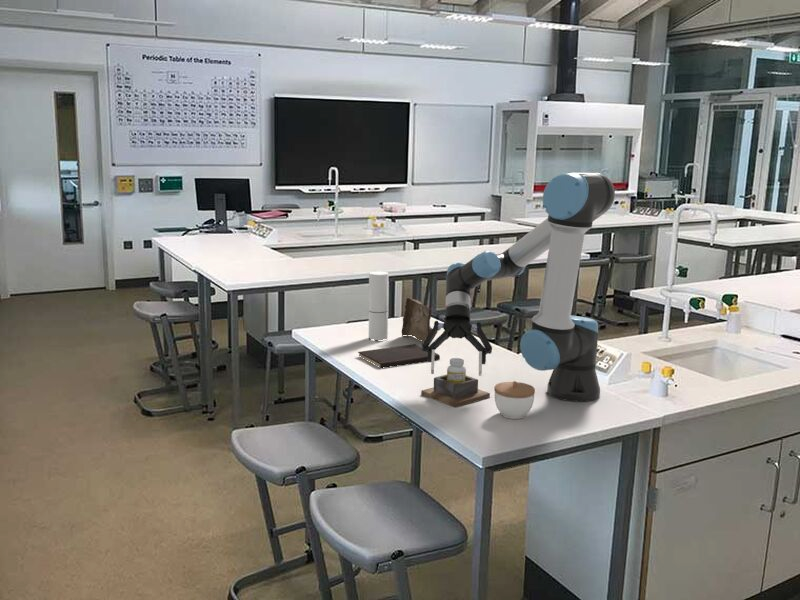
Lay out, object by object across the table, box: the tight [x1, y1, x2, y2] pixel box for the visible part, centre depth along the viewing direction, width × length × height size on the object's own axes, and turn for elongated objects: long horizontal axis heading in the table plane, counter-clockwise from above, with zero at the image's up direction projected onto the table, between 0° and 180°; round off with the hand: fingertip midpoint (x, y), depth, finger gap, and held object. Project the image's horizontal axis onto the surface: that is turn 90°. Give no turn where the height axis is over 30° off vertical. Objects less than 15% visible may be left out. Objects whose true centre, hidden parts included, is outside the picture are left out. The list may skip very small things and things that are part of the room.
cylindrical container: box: [368, 271, 389, 340], centre depth 275 cm, size 7×7×25 cm
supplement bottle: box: [446, 357, 467, 384], centre depth 213 cm, size 5×5×10 cm
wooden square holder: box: [420, 374, 491, 408], centre depth 214 cm, size 14×14×5 cm
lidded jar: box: [493, 380, 536, 420], centre depth 198 cm, size 11×11×9 cm
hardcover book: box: [357, 343, 441, 369], centre depth 252 cm, size 16×23×2 cm
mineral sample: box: [401, 297, 433, 342], centre depth 275 cm, size 17×4×15 cm, turn 33°
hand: (456, 372), depth 210 cm, fingers open, 13 cm apart
